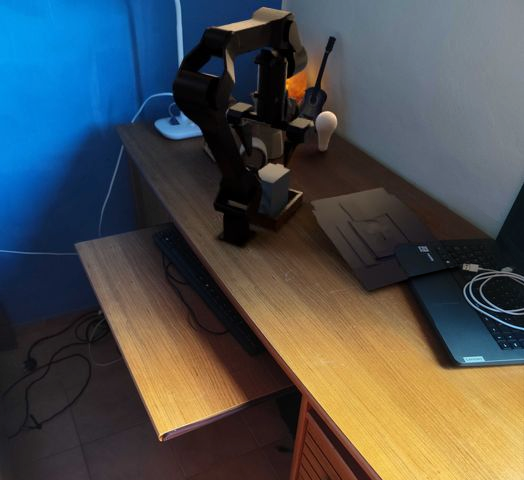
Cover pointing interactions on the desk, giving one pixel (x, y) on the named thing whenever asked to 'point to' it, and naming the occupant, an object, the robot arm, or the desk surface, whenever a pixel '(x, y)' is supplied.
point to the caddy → (277, 221)
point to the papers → (370, 232)
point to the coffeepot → (272, 134)
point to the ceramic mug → (255, 154)
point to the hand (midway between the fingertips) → (267, 161)
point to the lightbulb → (325, 128)
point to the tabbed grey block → (274, 189)
